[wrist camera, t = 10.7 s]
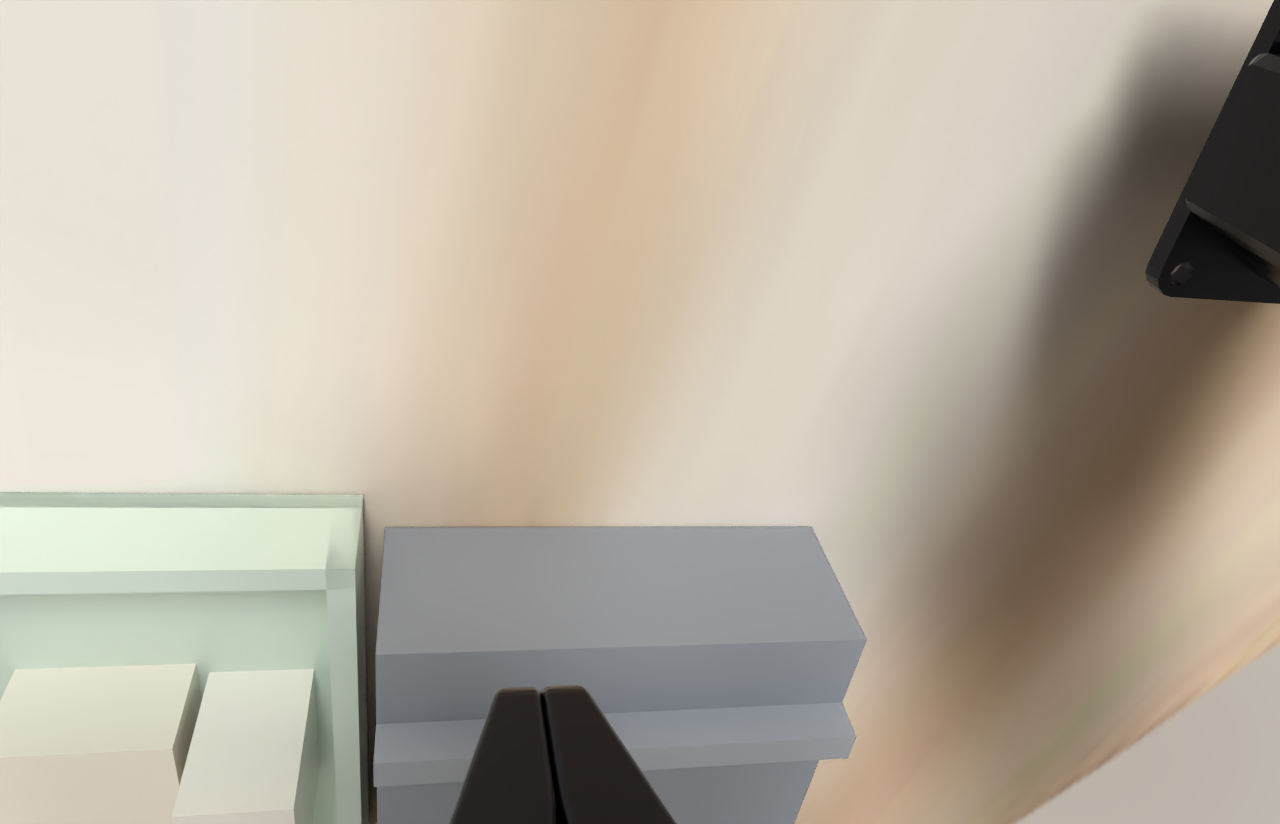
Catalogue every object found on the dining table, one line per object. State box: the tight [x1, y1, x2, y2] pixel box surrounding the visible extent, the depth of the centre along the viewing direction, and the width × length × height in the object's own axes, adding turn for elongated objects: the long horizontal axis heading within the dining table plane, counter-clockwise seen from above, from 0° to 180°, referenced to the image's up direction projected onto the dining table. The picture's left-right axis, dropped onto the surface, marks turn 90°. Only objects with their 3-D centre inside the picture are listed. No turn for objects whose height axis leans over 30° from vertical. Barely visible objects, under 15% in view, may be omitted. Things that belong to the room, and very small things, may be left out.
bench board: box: [373, 527, 867, 824], centre depth 25 cm, size 11×12×5 cm
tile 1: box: [0, 664, 202, 824], centre depth 23 cm, size 4×4×2 cm
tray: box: [0, 492, 369, 824], centre depth 23 cm, size 11×14×2 cm
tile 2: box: [172, 669, 320, 824], centre depth 23 cm, size 4×4×2 cm
